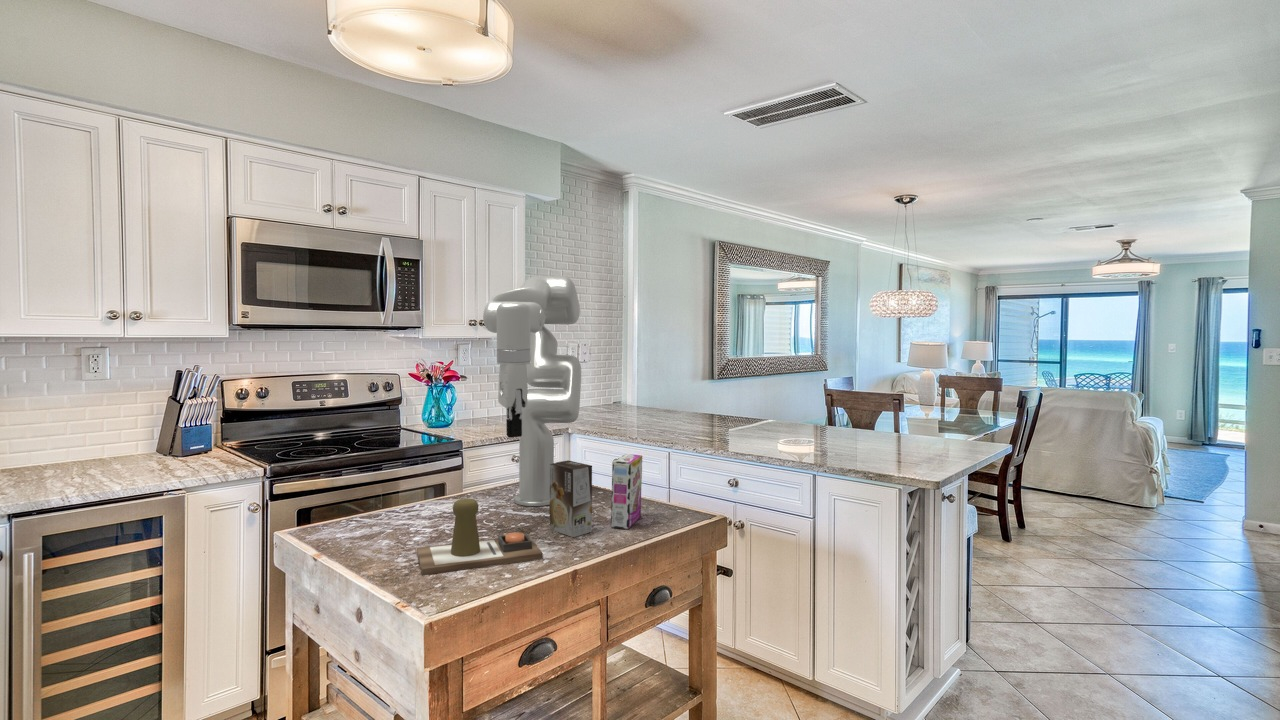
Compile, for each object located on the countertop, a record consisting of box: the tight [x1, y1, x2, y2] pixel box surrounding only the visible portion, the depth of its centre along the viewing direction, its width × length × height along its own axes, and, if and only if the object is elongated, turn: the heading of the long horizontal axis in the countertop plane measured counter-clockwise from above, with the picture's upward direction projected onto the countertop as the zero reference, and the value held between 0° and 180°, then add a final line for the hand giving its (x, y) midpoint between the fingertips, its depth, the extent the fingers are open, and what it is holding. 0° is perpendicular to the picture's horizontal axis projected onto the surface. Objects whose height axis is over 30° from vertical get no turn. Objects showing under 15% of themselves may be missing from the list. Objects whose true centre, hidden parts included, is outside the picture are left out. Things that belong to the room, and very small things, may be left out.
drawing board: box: [416, 532, 544, 576], centre depth 133 cm, size 13×24×3 cm, turn 114°
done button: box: [504, 531, 524, 544], centre depth 136 cm, size 4×4×2 cm
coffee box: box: [549, 460, 593, 538], centre depth 150 cm, size 9×6×16 cm
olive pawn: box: [451, 497, 480, 557], centre depth 132 cm, size 6×6×11 cm
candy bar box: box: [610, 453, 643, 530], centre depth 157 cm, size 11×5×16 cm, turn 164°
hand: (514, 436), depth 145 cm, fingers closed
